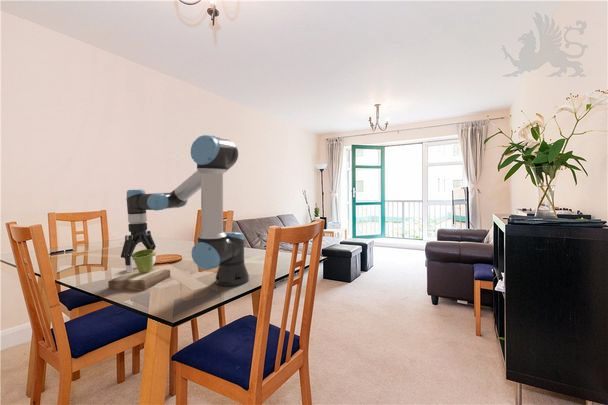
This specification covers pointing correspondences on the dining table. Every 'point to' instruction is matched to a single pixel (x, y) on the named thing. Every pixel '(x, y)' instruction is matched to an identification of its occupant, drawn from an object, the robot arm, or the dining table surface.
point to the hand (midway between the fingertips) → (140, 267)
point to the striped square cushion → (139, 279)
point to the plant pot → (143, 260)
